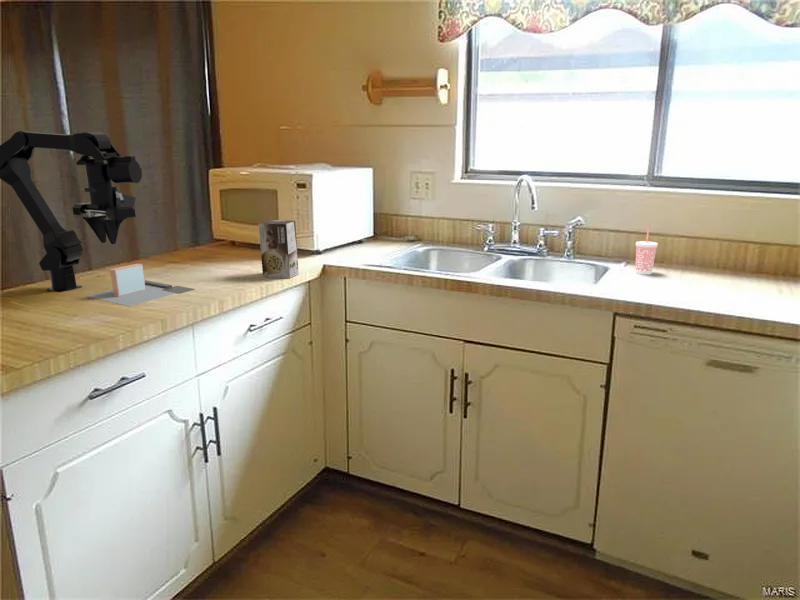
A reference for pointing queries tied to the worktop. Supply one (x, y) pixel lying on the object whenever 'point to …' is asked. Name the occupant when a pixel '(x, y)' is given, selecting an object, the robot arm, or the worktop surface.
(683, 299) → the worktop surface
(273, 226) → the coffee box
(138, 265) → the tile
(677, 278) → the worktop surface
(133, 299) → the mat
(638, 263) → the beverage cup
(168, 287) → the turner
